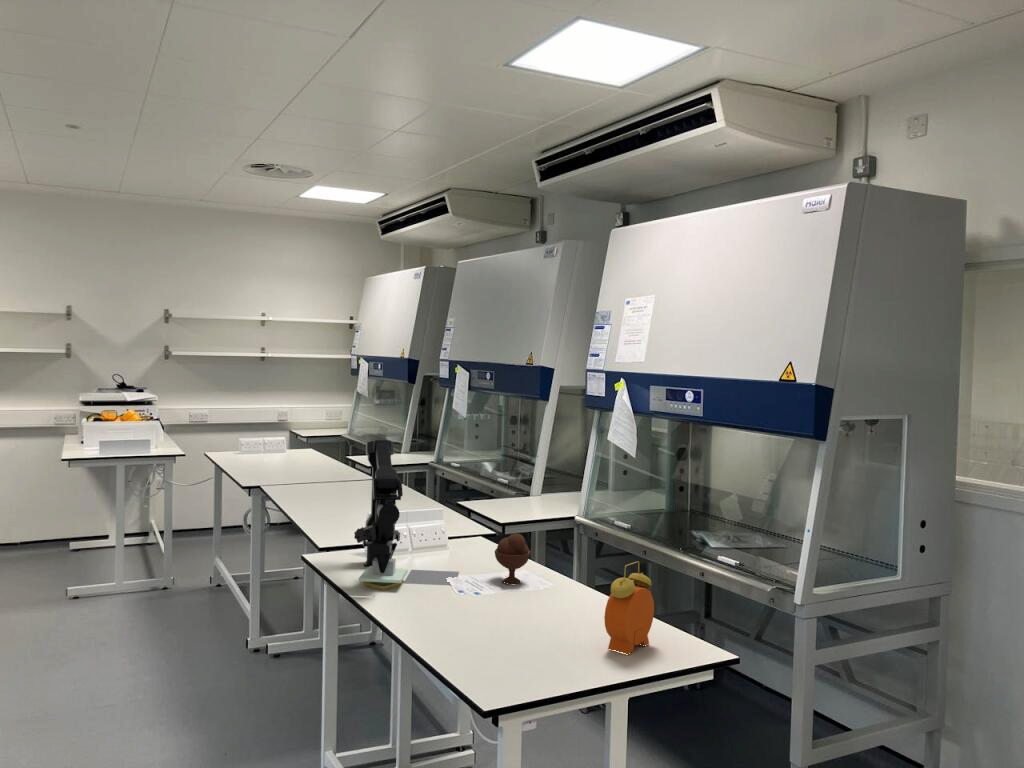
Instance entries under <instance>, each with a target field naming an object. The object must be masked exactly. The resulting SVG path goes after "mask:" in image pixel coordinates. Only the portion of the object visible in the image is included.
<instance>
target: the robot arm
mask: <svg viewBox="0 0 1024 768" xmlns="http://www.w3.org/2000/svg"><path fill="white" fill-rule="evenodd" d="M394 447H395V443H394V442H393V441H391V440H389V439H386V438H385V439H384V438H383V439H381V438H380V439H379V438H377V439H374V440H370V441H367V442H366V444H365V455H366V456H367V461H368V463H369V464H370V466H371V470H372V471H371V499H370V500H371V503H370V504H371V506H370V507H371V508H370V511H371V512H370V515H369V516H368V518H367V519H366V521H365V526H364V527H363V526H362V527H360V528H357V529H356V530H355V531H354V539H355V540H356V542H357V544H360V543H362V547H366V561H365V562H364V563H363V566H364V567H371V566H372V565H373V560H374V559H375V558H377V560H378V565H379V569H380V573H384V572H385V570H386V567H387V565H388V562H389V559H393V555H394V553H395V551H396V549H397V546H398V543H396V542H400V540H401V532H399V530H398V529H397V530H396V524H397V523H398V520H399V519H400V511H399V508H398V506H397V504H396V502H397V501H401V500H402V497H403V496H404V495H403V483H402V481H401V478H400V477H398V472H397V470H396V469H394V468H393V465H392V456H393V455H394V452H395V448H394ZM394 540H396V542H394ZM393 542H394V543H393Z"/></svg>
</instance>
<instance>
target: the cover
mask: <svg viewBox="0 0 1024 768" xmlns="http://www.w3.org/2000/svg"><path fill="white" fill-rule="evenodd" d="M396 561H397V560H396V558H391V559H389V562H388V565H387V567H386V570H385V572H384V573H380V569H379V565H378V560H377V558H375V559H374V560H373V565H371V566H366V568H365V569H364V570H363V572H362V573H361V575H360V576H359V577H358V582H363V581H365V582H376V583H388V584H394V583H401V582H402V580H403V581H404V579H405V576H406V575H407V573H408V571H409V569H408V568H397V567H396Z"/></svg>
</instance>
